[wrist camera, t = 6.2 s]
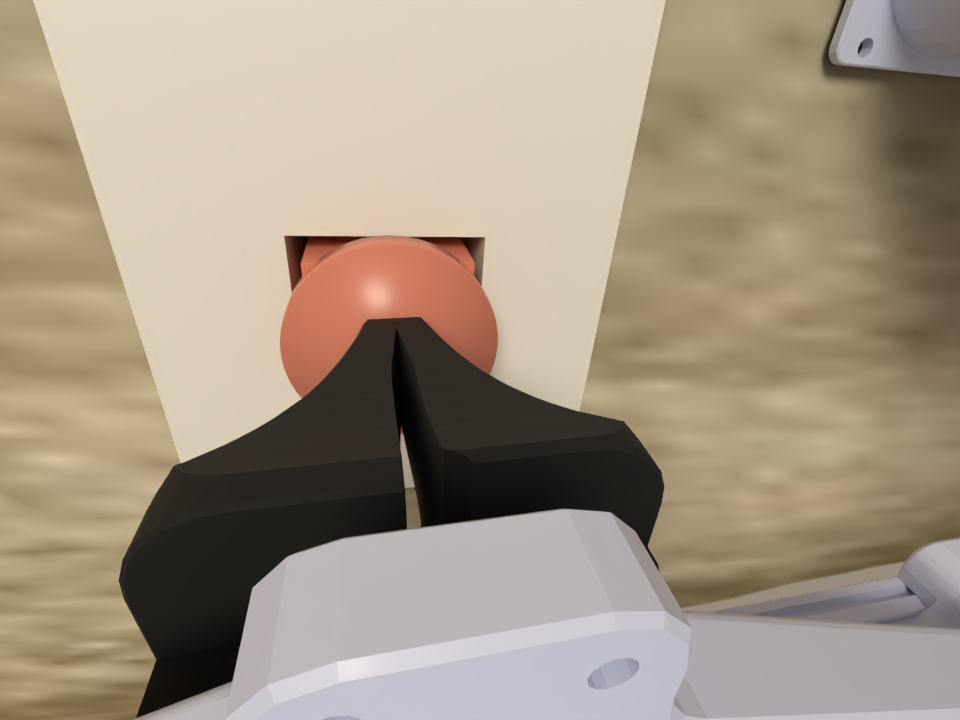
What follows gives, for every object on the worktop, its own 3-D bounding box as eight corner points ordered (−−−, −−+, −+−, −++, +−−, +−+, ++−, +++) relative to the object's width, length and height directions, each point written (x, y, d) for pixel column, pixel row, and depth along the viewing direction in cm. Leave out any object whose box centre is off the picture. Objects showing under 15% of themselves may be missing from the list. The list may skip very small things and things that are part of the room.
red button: (469, 200, 15) (507, 245, 11) (461, 348, 18) (489, 427, 14) (291, 196, 14) (263, 245, 10) (310, 354, 16) (294, 442, 13)
